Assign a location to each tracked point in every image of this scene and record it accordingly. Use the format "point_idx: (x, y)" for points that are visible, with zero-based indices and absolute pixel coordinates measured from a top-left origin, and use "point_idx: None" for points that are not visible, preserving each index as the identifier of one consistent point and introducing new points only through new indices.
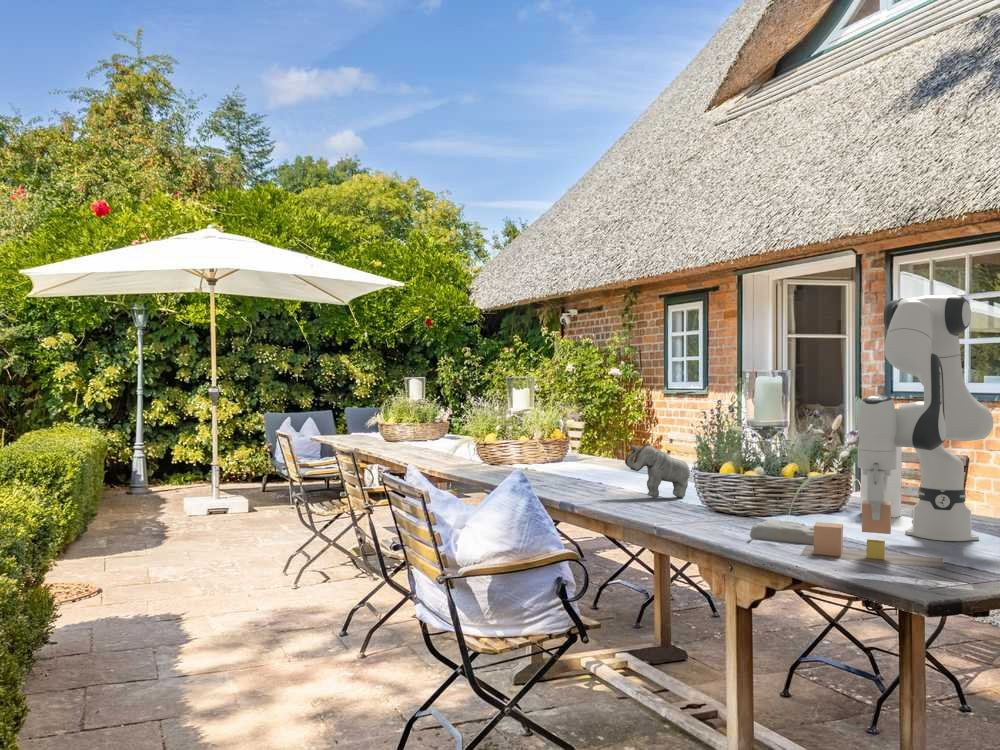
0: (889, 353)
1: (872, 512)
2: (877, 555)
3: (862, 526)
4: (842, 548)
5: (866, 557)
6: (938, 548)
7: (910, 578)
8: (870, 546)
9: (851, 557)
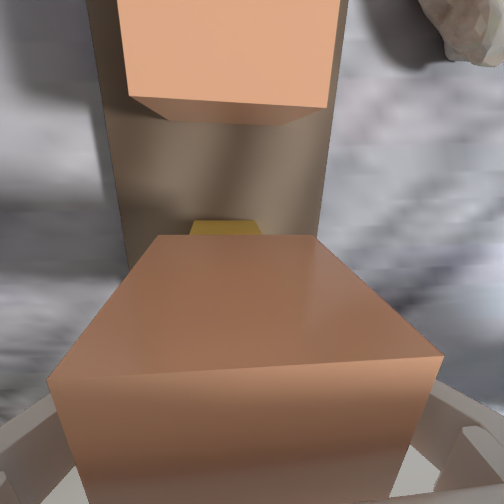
0: None
1: (48, 398)
2: None
3: (148, 250)
4: (263, 123)
5: (194, 220)
6: (477, 367)
7: (23, 339)
8: None
9: (164, 165)
